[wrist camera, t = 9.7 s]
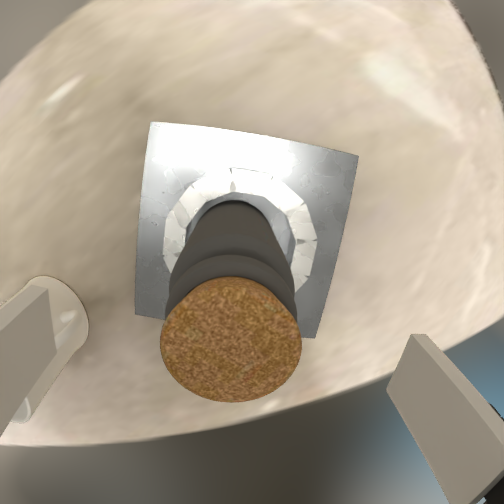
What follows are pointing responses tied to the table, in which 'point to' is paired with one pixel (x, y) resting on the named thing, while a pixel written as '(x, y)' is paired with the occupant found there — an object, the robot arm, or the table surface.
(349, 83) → the table surface
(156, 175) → the collar plate
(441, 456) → the robot arm
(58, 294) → the mug
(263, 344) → the bottle
